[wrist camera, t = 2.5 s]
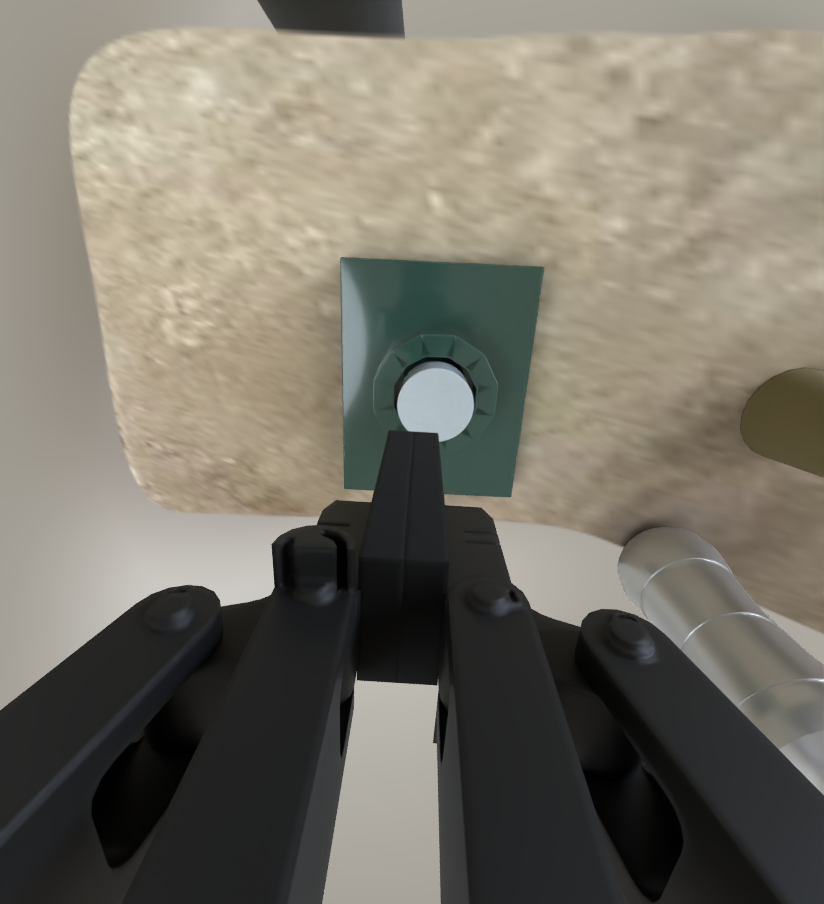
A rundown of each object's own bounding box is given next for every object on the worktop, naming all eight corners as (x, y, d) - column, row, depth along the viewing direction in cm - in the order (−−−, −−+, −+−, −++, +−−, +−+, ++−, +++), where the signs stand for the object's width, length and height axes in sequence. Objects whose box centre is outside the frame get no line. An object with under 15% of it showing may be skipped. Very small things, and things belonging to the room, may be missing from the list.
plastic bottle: (670, 598, 34) (959, 986, 16) (591, 573, 33) (795, 946, 15) (719, 531, 32) (1129, 894, 13) (635, 502, 31) (943, 843, 13)
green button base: (346, 258, 26) (332, 255, 22) (536, 266, 25) (554, 266, 22) (348, 476, 31) (338, 504, 27) (506, 484, 31) (516, 513, 27)
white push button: (400, 359, 24) (398, 366, 22) (473, 362, 24) (477, 370, 22) (398, 427, 26) (396, 440, 24) (466, 431, 26) (470, 444, 24)
